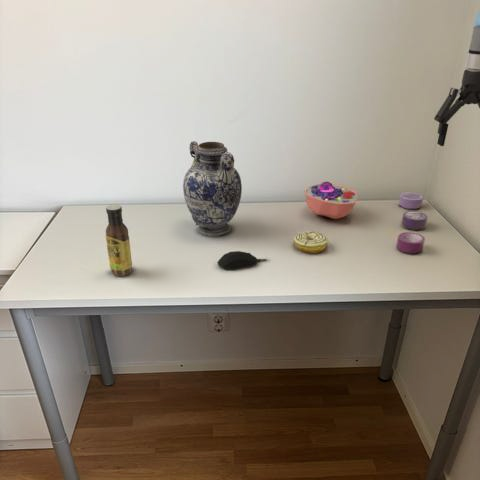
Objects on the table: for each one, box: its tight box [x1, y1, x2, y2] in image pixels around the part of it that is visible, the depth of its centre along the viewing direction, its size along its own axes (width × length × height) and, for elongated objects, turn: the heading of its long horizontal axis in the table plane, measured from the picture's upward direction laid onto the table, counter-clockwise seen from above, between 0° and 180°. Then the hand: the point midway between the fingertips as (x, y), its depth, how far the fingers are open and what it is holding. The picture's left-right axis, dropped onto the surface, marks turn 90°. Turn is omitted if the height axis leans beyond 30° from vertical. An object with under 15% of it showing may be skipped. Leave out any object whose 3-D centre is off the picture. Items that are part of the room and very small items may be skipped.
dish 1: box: [398, 191, 424, 210], centre depth 188 cm, size 8×8×4 cm
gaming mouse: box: [217, 250, 267, 270], centre depth 151 cm, size 6×15×4 cm, turn 107°
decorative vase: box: [182, 140, 243, 237], centre depth 164 cm, size 21×19×28 cm
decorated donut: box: [293, 231, 329, 254], centre depth 160 cm, size 10×11×4 cm
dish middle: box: [400, 210, 429, 231], centre depth 173 cm, size 8×8×4 cm
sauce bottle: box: [105, 203, 133, 277], centre depth 142 cm, size 6×6×20 cm
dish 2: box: [395, 231, 426, 255], centre depth 159 cm, size 8×8×4 cm
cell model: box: [304, 180, 358, 220], centre depth 179 cm, size 17×20×11 cm
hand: (460, 144), depth 162 cm, fingers open, 13 cm apart
